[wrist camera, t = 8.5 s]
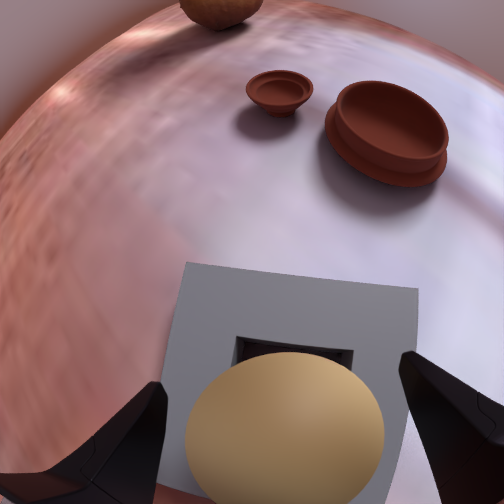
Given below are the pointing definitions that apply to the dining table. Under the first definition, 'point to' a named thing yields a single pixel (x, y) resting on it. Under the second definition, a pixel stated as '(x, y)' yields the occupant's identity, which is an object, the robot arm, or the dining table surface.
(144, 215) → the dining table surface
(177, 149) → the dining table surface
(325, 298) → the socket block
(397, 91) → the pottery
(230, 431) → the tan wooden cylinder
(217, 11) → the butternut squash
